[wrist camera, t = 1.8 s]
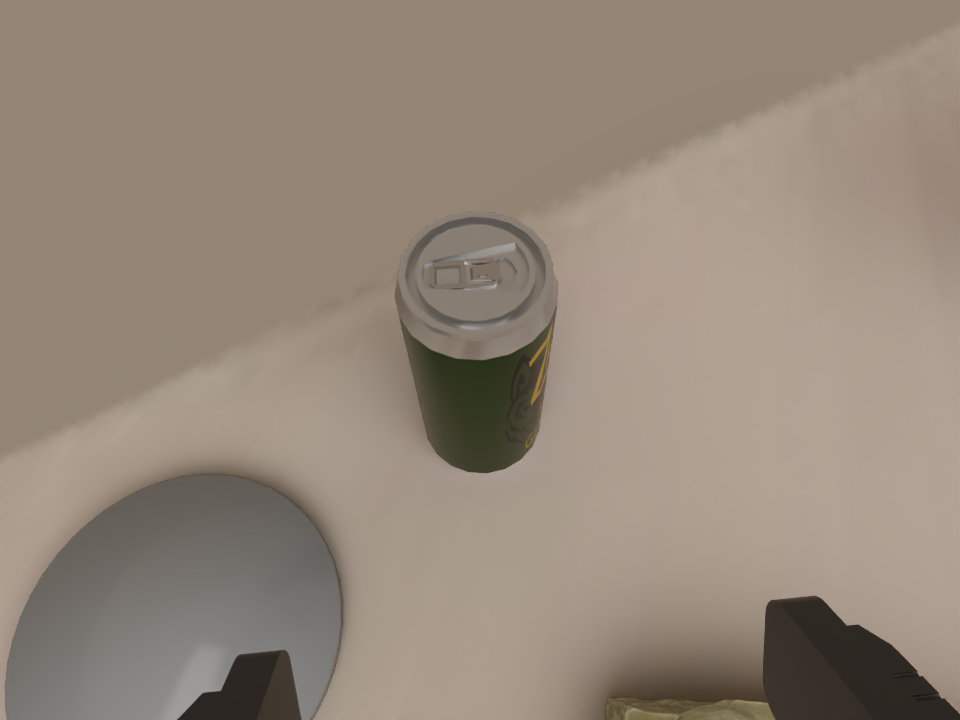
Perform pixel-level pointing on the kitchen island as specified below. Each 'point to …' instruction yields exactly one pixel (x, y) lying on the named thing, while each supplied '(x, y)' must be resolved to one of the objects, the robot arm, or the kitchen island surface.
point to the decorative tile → (685, 710)
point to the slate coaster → (176, 604)
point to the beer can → (478, 335)
